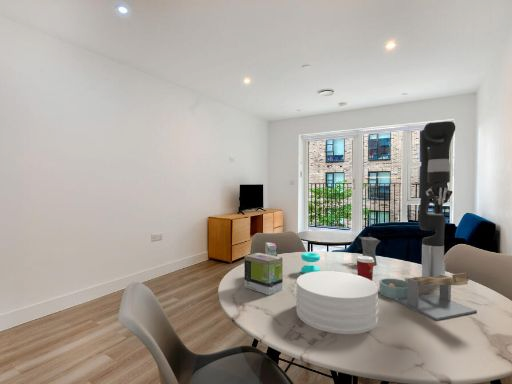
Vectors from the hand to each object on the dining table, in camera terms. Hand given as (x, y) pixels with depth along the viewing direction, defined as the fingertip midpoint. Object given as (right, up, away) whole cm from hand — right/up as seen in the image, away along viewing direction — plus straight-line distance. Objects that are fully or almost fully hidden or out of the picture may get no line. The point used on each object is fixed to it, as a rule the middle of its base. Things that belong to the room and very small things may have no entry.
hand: (438, 213), depth 112 cm
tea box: (-71, -35, +13) cm, 80 cm away
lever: (-5, -26, -5) cm, 27 cm away
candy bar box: (-66, -35, +31) cm, 81 cm away
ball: (-14, -33, +9) cm, 37 cm away
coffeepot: (-7, -35, +55) cm, 65 cm away
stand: (-5, -35, -6) cm, 36 cm away
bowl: (-14, -35, +7) cm, 38 cm away
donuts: (-45, -35, +36) cm, 67 cm away
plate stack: (-45, -36, -12) cm, 59 cm away
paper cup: (-24, -35, +13) cm, 45 cm away
